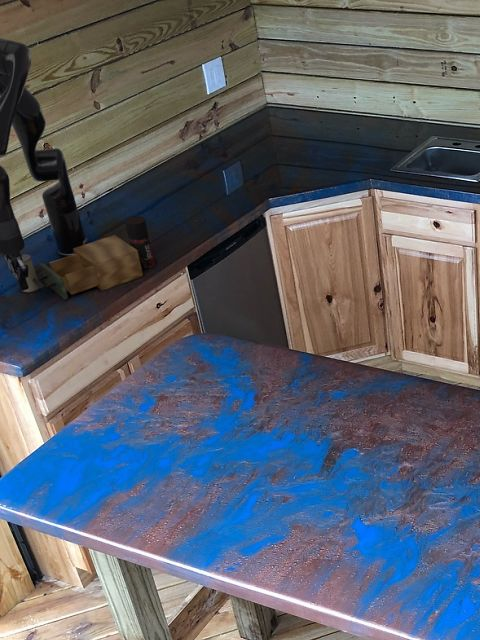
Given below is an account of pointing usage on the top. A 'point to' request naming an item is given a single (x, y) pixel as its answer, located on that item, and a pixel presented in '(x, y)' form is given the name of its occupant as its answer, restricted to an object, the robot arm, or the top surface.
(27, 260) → the tin can
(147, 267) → the deodorant
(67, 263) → the drawer
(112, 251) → the cabinet
